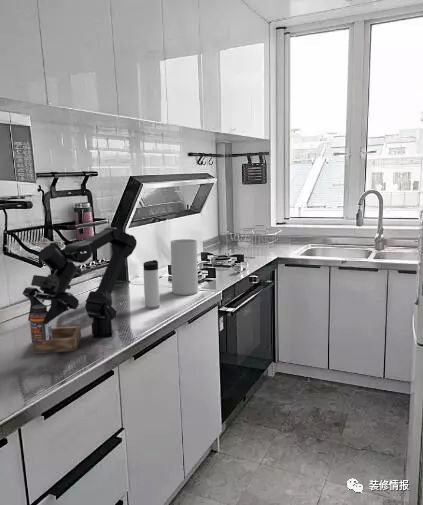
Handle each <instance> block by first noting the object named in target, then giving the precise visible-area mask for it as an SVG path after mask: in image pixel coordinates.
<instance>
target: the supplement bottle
mask: <svg viewBox="0 0 423 505" xmlns="http://www.w3.org/2000/svg"><path fill="white" fill-rule="evenodd" d="M43 304H44V303H43ZM43 304H41V305H35V306H33V307H32V309H33V310H32V311H33V313H32V314H31V315H30V321H29V326H30V327H29V328H30V338H31V339H30V340H31V343H32V345H33V344H35V345H44V344H47V343H50V342H51V341H52V328H53V327H52V321H50V322H49V323H47V324H44V323H43V321H44V319H45V317H46V315H47V313H48V311H49V310H48V308H47V304H44V305H43Z"/></svg>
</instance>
